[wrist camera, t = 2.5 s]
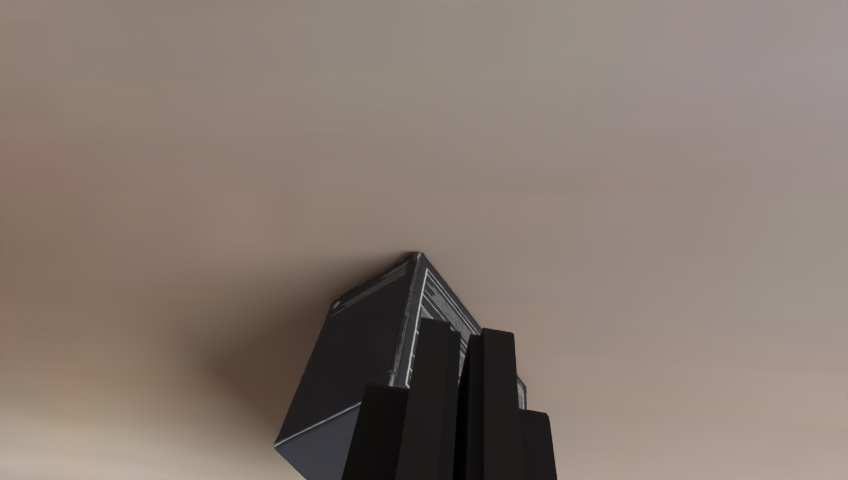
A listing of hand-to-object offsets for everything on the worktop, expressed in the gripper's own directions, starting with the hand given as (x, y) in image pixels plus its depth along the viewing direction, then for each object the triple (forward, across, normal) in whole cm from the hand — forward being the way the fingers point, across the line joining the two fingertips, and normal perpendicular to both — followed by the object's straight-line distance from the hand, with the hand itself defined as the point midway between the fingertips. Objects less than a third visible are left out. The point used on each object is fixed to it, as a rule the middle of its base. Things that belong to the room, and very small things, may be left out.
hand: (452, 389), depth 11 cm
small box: (+19, 0, +13) cm, 23 cm away
